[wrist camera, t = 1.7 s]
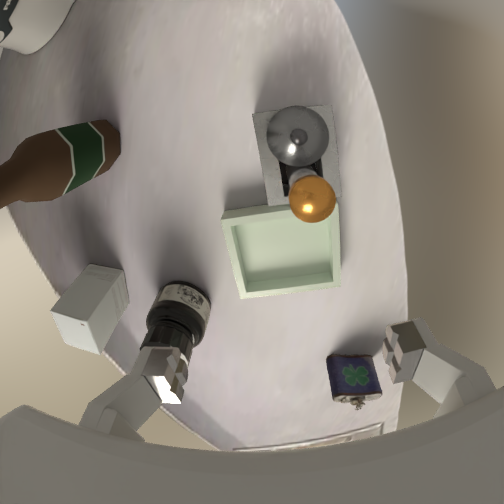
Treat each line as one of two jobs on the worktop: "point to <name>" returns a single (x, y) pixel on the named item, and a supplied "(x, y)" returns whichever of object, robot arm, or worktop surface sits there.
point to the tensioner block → (296, 146)
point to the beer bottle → (58, 161)
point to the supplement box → (91, 308)
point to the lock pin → (309, 194)
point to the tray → (281, 250)
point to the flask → (353, 379)
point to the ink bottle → (178, 318)
